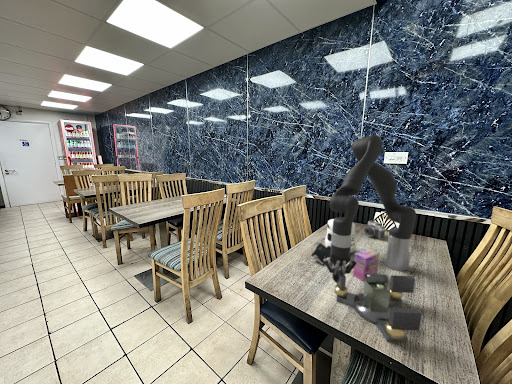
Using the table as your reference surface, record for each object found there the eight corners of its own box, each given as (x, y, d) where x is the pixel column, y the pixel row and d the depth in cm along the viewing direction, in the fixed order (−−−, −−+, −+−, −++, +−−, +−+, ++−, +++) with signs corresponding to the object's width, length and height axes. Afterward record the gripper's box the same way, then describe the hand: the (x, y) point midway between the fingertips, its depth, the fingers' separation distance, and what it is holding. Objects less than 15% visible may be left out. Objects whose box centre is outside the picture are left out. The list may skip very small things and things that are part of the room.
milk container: (356, 259, 113) (359, 229, 109) (324, 254, 118) (326, 225, 115) (352, 246, 129) (354, 219, 126) (324, 242, 134) (326, 217, 131)
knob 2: (390, 339, 61) (394, 315, 59) (382, 326, 65) (384, 304, 64) (421, 341, 60) (425, 317, 59) (410, 327, 65) (414, 305, 63)
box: (363, 281, 92) (365, 258, 90) (352, 275, 97) (354, 253, 95) (377, 275, 97) (379, 253, 95) (366, 269, 102) (368, 248, 100)
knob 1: (391, 299, 78) (393, 280, 76) (384, 291, 82) (386, 273, 81) (415, 300, 77) (418, 281, 75) (406, 292, 82) (409, 274, 80)
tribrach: (394, 296, 83) (398, 265, 80) (437, 344, 61) (445, 304, 59) (332, 293, 84) (335, 262, 82) (354, 339, 63) (357, 300, 61)
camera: (359, 231, 154) (360, 219, 152) (371, 231, 154) (372, 219, 153) (372, 240, 138) (373, 226, 137) (385, 239, 139) (387, 226, 137)
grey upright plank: (349, 297, 79) (350, 278, 77) (336, 296, 79) (338, 278, 78) (341, 283, 87) (342, 266, 86) (330, 282, 88) (331, 265, 86)
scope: (331, 274, 102) (341, 259, 99) (309, 255, 110) (318, 241, 107) (337, 270, 108) (346, 256, 105) (316, 252, 116) (325, 239, 113)
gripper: (354, 239, 85) (351, 276, 88) (321, 238, 86) (319, 275, 89) (362, 247, 77) (358, 287, 80) (326, 246, 78) (323, 286, 81)
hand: (337, 280), depth 85 cm, fingers closed, pressing on grey upright plank
